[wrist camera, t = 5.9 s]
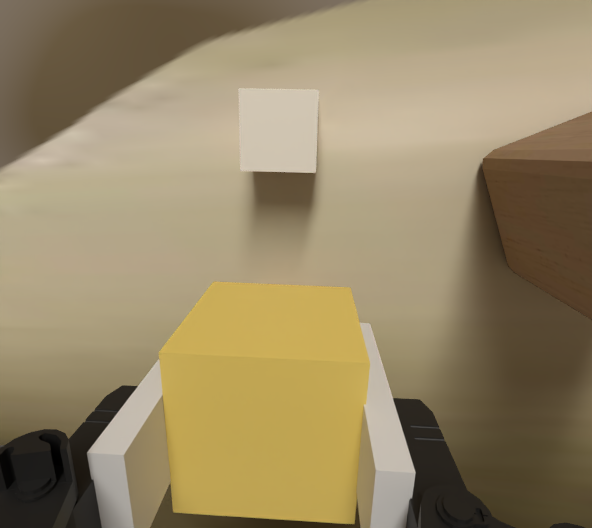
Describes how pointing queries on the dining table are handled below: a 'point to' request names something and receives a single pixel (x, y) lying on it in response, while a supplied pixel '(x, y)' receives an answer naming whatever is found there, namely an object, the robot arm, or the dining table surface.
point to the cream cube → (278, 130)
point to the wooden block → (547, 209)
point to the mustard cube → (266, 403)
